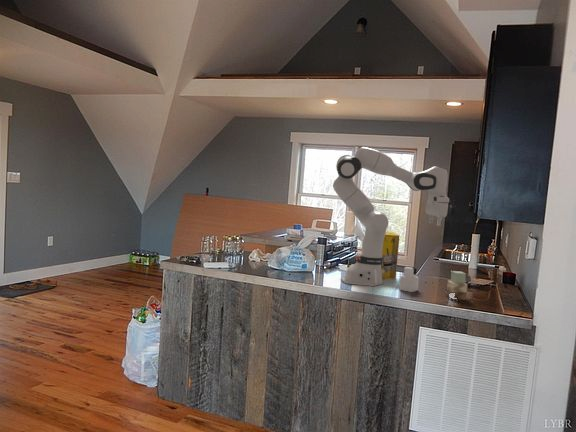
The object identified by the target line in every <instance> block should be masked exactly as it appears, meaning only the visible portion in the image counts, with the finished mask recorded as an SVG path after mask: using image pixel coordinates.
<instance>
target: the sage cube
mask: <svg viewBox="0 0 576 432" xmlns="http://www.w3.org/2000/svg"><path fill="white" fill-rule="evenodd" d="M450 273H451V274H450V281H452V282H454V283H461V284H465V283H466V275H467V273H465V272H463V271H461V270H460V271H457V270H452V271H451V272H450Z"/></svg>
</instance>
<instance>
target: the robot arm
mask: <svg viewBox="0 0 576 432" xmlns="http://www.w3.org/2000/svg"><path fill="white" fill-rule="evenodd" d="M335 169H336V171H337V174H338V176H337V178H336V179H334V181H333V183H332V187H333V189H334V192H335V193H336V194H337V196H338V197H339V199H340V200H341V201H342V202H343V203H344V204H345V206H346V207H347V208H349V210H350V211H351V212H352V213H353V214H354V216H355V217H356V218H357V220H358V221H359V223H361V224H362V226H363V227H364V228H365V232H364V236H363V239H362V242H361V253H360V255H357V254H356V255H355V257H354V258H355V259H356V263H353V264H352V265H351V266H349V267H347V269H346V271H345V276H341V277H340V281H341V282H343V284H344V283H345V284H346V285H347V284H348V285H358V286H367V287H368V286H371V287H377V286H380V285H383V283H384V281H383V278H382V271H381V268H382V264H383V257H382V251H383V242H384V238H385V234H386V232H387V228H388V226H389V219H388V217H387V215H386V214H385V213H383V212H382V211H379V210H377V208H376V207H375V206H374V205H373V203H372V202H371V201H370V199H369V197H367V195H366V194H365V193H364V191H362V190H361V189H360V187H359V186H358V185H357V184H356V183H355V181H354V180H353V177H355V176H356V175H357V174H358V173H359V172H360V170H361V169H364V170H367V171H370V172H372V173H374V174H377V175H381V176H387V177H392V178H394V179H396V180H398V181H400V182H403V183H405V184H406V185H407V186H408V187H409V189H411V190H412V191H414V192H420V191H422V192H423V191H427V190H428V197H427V198H428V199H427V202H426V207H425V214H426V215H428V220H429V221H428V222H429V224H433V225H434V222H435V221H434V217H437V220H436V223H435V225H436V226H441V225H442V221H443V218H446V217H447V215H448V209H449V203H450V198H449V197H448V195H447V186H448V180H449V179H448V177H449V176H448V174H449V173H448V171H447V169H446V168H445V167H441V166H435V165H434V166H432V167H431V168H428V169H426V170H423V171H409V170H407V169H404V168H403V167H400V166H398V165H397V164H396V163H394V161H393V159H392V157H391V156H388V154H385V153H384V152H381V151H379V150H376V149H374V148H369V147H365V146H362V147H360V148H358V149H357V151H356V152H355V154H354V155H353V156H352V155H349V154H345V155H344V154H343V155H342V156H340V157H339V158H338V160H337V161H336V164H335Z"/></svg>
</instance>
